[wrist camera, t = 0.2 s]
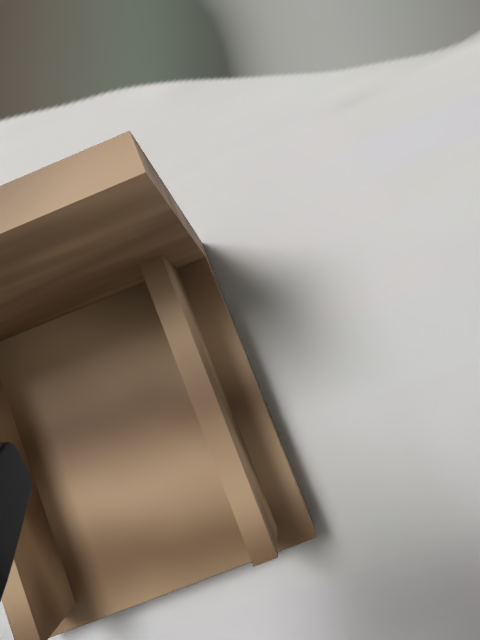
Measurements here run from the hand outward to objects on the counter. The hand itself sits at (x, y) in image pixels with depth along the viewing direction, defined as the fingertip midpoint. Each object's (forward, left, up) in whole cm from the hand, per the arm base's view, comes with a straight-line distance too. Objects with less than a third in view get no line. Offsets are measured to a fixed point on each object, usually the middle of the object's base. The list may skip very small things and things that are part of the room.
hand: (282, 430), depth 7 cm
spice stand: (+2, +8, -15) cm, 17 cm away
